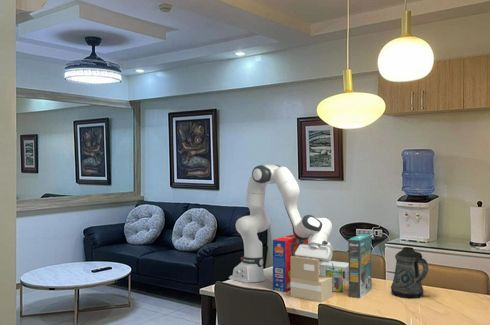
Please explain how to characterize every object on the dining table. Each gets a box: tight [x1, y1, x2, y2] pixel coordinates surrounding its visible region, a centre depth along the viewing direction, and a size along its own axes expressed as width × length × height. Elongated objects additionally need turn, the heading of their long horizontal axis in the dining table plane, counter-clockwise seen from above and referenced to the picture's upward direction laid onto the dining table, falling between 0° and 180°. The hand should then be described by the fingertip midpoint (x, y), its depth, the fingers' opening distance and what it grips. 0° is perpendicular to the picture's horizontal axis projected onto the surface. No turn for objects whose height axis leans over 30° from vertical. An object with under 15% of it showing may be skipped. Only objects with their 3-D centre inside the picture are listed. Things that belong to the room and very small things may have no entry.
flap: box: [291, 256, 320, 282], centre depth 246 cm, size 16×1×11 cm, turn 53°
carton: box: [290, 274, 333, 303], centre depth 252 cm, size 18×12×10 cm
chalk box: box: [326, 263, 344, 293], centre depth 265 cm, size 9×9×15 cm
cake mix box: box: [347, 233, 373, 299], centre depth 259 cm, size 22×6×30 cm, turn 150°
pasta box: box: [272, 233, 309, 293], centre depth 274 cm, size 28×8×28 cm, turn 146°
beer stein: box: [390, 246, 429, 300], centre depth 254 cm, size 16×19×25 cm
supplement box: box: [319, 260, 349, 283], centre depth 291 cm, size 17×13×9 cm
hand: (308, 266), depth 250 cm, fingers closed
